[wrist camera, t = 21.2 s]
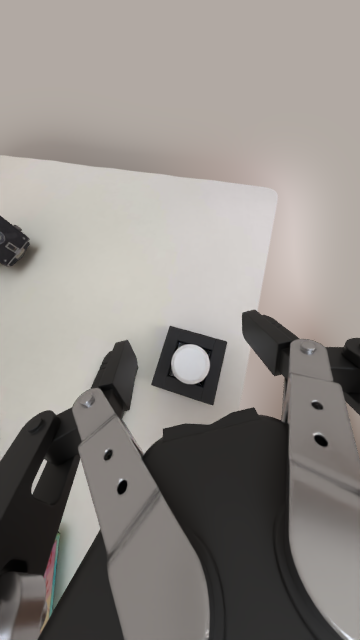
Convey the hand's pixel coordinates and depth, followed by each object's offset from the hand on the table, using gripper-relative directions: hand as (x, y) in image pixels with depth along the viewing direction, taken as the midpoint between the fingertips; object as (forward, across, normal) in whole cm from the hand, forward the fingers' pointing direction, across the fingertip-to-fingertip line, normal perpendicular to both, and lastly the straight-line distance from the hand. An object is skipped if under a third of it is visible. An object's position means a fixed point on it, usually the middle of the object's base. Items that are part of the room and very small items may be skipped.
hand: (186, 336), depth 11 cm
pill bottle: (+12, 0, +15) cm, 19 cm away
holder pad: (+12, 0, +14) cm, 19 cm away
